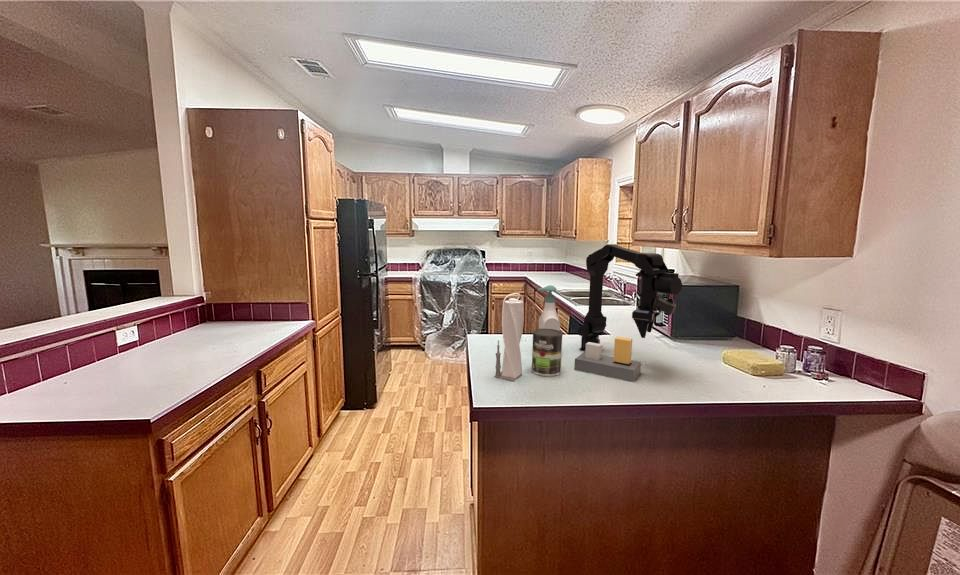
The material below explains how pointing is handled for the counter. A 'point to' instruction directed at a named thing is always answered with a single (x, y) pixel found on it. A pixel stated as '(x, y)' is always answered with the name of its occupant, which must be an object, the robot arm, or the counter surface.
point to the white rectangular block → (593, 351)
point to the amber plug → (623, 350)
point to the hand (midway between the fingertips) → (646, 334)
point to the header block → (608, 367)
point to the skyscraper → (511, 339)
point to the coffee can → (547, 352)
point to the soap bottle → (549, 311)
